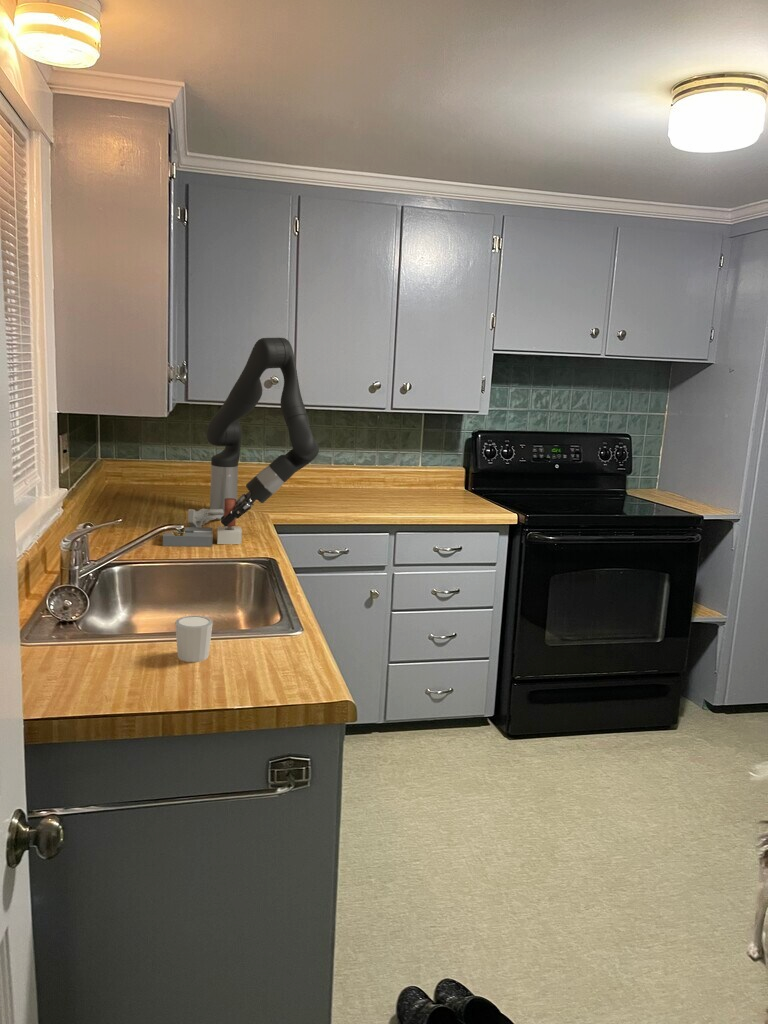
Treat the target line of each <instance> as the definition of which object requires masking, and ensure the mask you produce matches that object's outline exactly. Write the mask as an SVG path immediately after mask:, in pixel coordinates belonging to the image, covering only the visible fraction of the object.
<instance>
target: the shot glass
mask: <svg viewBox="0 0 768 1024" xmlns="http://www.w3.org/2000/svg"><path fill="white" fill-rule="evenodd" d="M213 625H214V621H213V619H211V618H209V617H207V616H202V615H187V616H183V617H180V618H178V619H176V620H175V636H176V638H175V639H176V650H177V658H178V660H179V661H181V662H186V663H197V662H198V663H200V662H203V661H206V660H207V659H208V658H209V656H210V648H211V647H210V646H211V639H212V632H213V631H212V630H213Z"/></svg>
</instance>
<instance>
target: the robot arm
mask: <svg viewBox="0 0 768 1024" xmlns="http://www.w3.org/2000/svg"><path fill="white" fill-rule="evenodd" d="M269 369H280V370H281V373H282V376H283V388H282V392H281V397H280V409H281V413H282V416H283V419H284V422H285V425H286V427H287V430H288V435H289V436H288V437H289V440H290V441H289V442H290V444H291V447H292V449H291V450H289V451H288V452H287V453H284V454H281V455H279V456H277V457H276V458H275V459H274V460H273V461H272V462H271V463H269V465H267V466H266V467H264V468H263V469H261V470H260V471H259V473H257V474H255V476H254V477H253V478H252V479H250V480H249V481H248V483H246V485H245V486H246V489H247V490H248V492H246V494H245V493H242V494H241V496H240V497H238V480H239V479H238V477H239V461H240V456H241V444H242V426H241V423H240V422H239V419H242V418H243V417H245V416H246V415H248V414H249V413H251V412H252V411H253V410H254V409H255V407H256V406H257V404H259V402H260V400H261V398H262V396H263V386H262V385H263V384H262V382H261V377H262V375H263V373H264V372H265V371H266V370H269ZM297 370H298V369H297V365H296V360H295V354H294V349H293V347H292V345H291V342H290V341H289V340H288V338H285V337H262V338H259V339H258V340H257V341H256V342H255V344H253V348H252V349H251V352H250V354H249V357H248V359H247V362H246V364H245V366H244V367H243V369H242V371H241V374H240V376H239V377H238V379H237V380H236V382H235V384H234V385H233V387H232V388H231V390H230V393H229V394H228V396H227V397H226V399H225V401H224V403H223V404H222V405H221V407H220V409H219V410H218V411H217V412H216V413H215V415H214V416H213V417H212V418H211V420H210V421H209V423H208V426H207V428H206V440H207V442H208V443H209V444H210V445H212V446H216V447H224V446H225V447H224V449H223V450H222V451H220V452H219V453H217V454H214V455H213V456H212V457H211V461H210V491H209V492H210V497H209V509H223V514H212V515H223V516H222V517H221V520H220V523H221V524H222V525H223V526H226V527H228V526H227V525H228V524H229V523H231V522H232V521H233V520H234V519H240V517H241V516H243V515H244V514H245V513H247V512H248V511H249V510H251V509H252V507H253V506H254V505H255V504H254V502H256V501H258V502H259V503H261V504H264V503H265V502H266V501H267V500H269V499H270V497H272V496H273V495H274V494H275V493H276V492H277V491H278V490H279V489H281V487H282V486H283V485H284V484H285V483H286V482H287V481H288V480H289V479H290V478H291V477H292V476H293V475H294V474H295V473H297V472H298V471H300V470H302V469H303V468H305V466H307V465H309V464H311V462H313V461H314V460H315V459H316V457H317V456H318V454H319V452H320V447H319V444H318V442H317V441H316V440H315V437H314V436H313V432H312V430H311V427H310V418H309V415H308V413H307V409H306V407H305V403H304V401H303V397H302V393H301V389H300V388H301V387H300V383H299V376H298V371H297ZM226 498H234V499H236V505H235V508H234V509H233V510H232V511H230V513H229V514H228V515H227V516H226V517H225V518H224V507H225V499H226Z"/></svg>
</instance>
